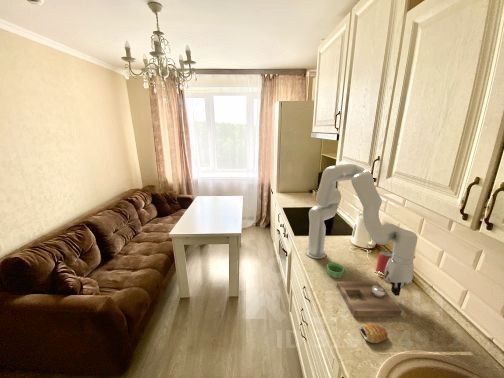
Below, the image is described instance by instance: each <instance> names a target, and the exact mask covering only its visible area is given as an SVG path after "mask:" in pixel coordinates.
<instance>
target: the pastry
mask: <svg viewBox="0 0 504 378" xmlns="http://www.w3.org/2000/svg"><path fill="white" fill-rule="evenodd" d="M358 330H359V331H360V332H359V333H360V334H361V335H362V337H363V338H364V340H365V341H367V342H369V343H370V344H378V343H381V342H383V341H385V340H387V339H388V332H387V330H386V329H385V328H384V327H383V326H379V325H376V324H374V323H363V324H362V325H360V326H358Z"/></svg>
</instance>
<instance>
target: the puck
mask: <svg viewBox="0 0 504 378" xmlns="http://www.w3.org/2000/svg"><path fill="white" fill-rule="evenodd" d="M380 286H381V285H380ZM380 286H377V285H374V286H372V291H371V294H372V295H373V296H374V297H376V298H378V299H383V298H384V293H385V291H386V290H385V289H384V287H382V286H381V287H380Z"/></svg>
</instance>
